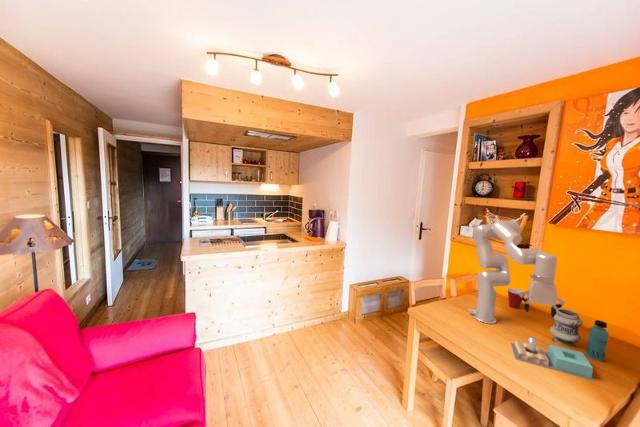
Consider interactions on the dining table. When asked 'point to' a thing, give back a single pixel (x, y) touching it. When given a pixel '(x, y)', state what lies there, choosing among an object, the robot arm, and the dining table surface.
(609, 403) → the dining table surface
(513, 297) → the plastic cup
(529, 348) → the steel pin
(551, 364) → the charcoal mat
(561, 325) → the apothecary jar
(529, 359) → the ash mount
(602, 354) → the beverage bottle
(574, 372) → the teal dock
